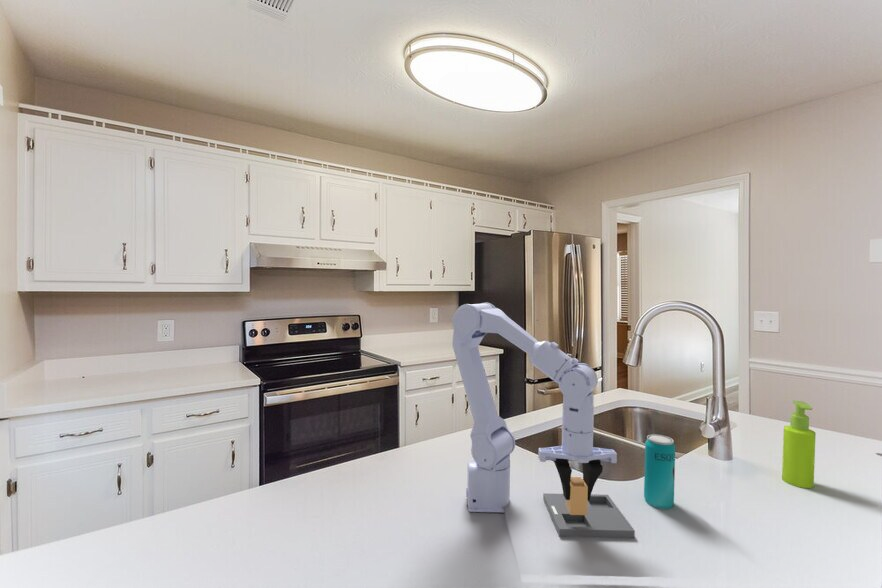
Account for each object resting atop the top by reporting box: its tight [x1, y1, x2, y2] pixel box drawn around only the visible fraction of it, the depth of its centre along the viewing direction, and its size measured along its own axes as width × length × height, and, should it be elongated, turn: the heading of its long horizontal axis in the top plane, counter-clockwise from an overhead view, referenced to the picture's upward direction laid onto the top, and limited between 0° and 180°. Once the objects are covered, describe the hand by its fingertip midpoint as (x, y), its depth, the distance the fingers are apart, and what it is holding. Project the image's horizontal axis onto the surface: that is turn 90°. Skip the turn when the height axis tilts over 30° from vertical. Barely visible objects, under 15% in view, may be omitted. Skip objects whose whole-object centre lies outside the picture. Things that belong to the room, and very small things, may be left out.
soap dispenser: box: [781, 400, 817, 489], centre depth 100 cm, size 6×7×20 cm
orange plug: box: [565, 476, 588, 515], centre depth 80 cm, size 3×3×6 cm
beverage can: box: [643, 433, 676, 510], centre depth 89 cm, size 6×6×15 cm
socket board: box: [542, 493, 636, 539], centre depth 84 cm, size 14×14×2 cm
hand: (576, 497), depth 80 cm, fingers closed on orange plug, 3 cm apart
